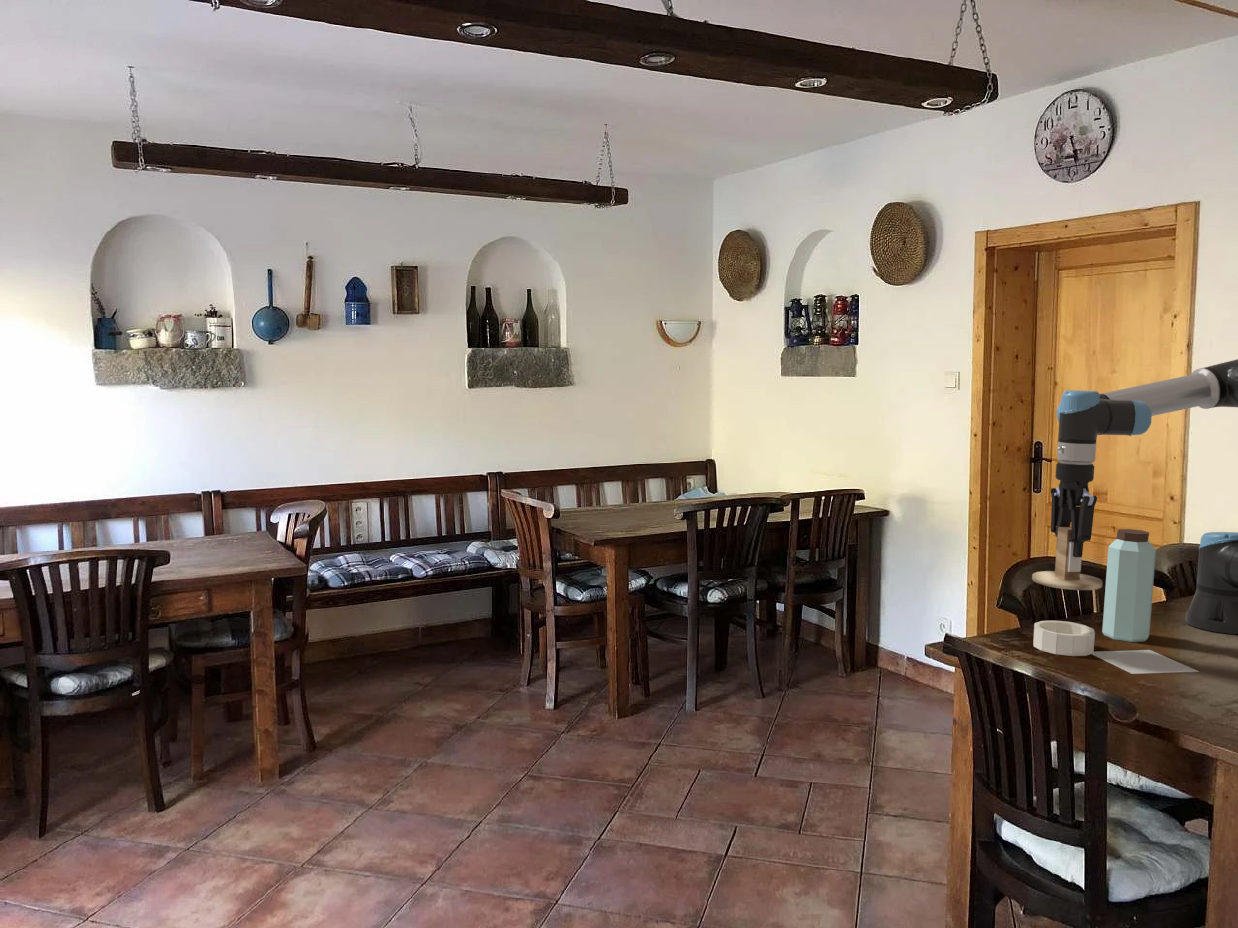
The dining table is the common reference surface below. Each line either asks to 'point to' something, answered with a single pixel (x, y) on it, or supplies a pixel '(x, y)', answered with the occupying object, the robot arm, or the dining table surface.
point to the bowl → (1064, 638)
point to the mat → (1142, 662)
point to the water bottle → (1129, 586)
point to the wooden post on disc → (1065, 569)
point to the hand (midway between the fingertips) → (1067, 568)
